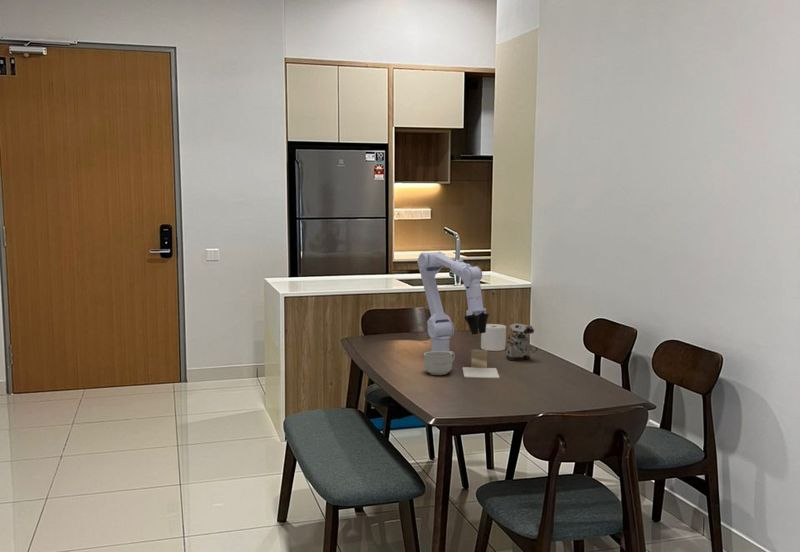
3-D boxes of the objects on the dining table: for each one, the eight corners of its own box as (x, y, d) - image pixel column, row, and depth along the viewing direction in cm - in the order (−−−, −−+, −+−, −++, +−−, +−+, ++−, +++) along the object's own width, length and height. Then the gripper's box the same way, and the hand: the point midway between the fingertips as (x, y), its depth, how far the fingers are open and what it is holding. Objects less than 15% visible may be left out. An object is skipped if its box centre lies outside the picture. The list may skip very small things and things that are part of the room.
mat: (462, 368, 299) (462, 367, 299) (495, 369, 299) (496, 368, 299) (464, 377, 285) (464, 376, 285) (499, 378, 285) (499, 377, 285)
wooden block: (471, 367, 301) (471, 349, 300) (486, 367, 301) (487, 350, 300) (471, 368, 300) (472, 350, 299) (486, 368, 299) (487, 350, 299)
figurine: (516, 364, 307) (518, 327, 305) (504, 357, 318) (505, 322, 316) (537, 363, 310) (538, 326, 308) (524, 356, 321) (525, 321, 319)
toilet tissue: (499, 352, 328) (500, 329, 326) (473, 348, 334) (474, 326, 333) (509, 348, 337) (510, 325, 335) (484, 344, 343) (485, 322, 342)
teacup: (433, 378, 283) (434, 357, 282) (417, 371, 292) (418, 351, 291) (464, 374, 290) (465, 353, 289) (448, 367, 299) (448, 347, 298)
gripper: (476, 297, 284) (481, 333, 283) (491, 296, 297) (495, 331, 296) (459, 299, 288) (464, 335, 287) (474, 298, 300) (478, 333, 299)
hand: (478, 333), depth 292 cm, fingers open, 7 cm apart
